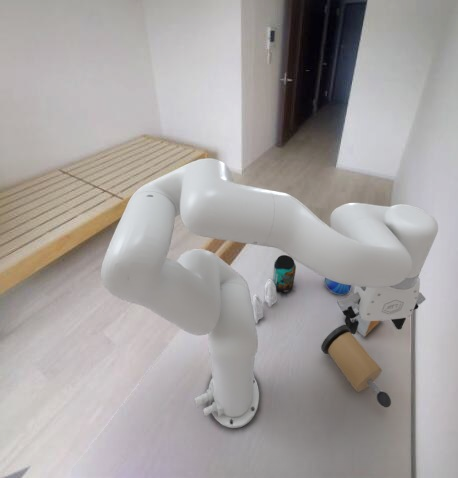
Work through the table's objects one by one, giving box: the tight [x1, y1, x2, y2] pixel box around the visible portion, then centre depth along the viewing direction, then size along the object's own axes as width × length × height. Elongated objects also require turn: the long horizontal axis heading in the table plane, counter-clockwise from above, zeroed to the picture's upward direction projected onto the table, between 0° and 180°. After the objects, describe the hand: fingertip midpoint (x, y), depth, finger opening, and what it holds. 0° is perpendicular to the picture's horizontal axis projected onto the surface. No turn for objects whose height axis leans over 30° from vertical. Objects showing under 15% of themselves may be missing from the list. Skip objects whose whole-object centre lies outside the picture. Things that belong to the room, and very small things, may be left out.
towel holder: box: [320, 324, 392, 408], centre depth 67 cm, size 10×16×10 cm, turn 24°
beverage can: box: [272, 254, 297, 295], centre depth 91 cm, size 7×7×12 cm
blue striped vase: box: [324, 277, 352, 296], centre depth 90 cm, size 8×8×16 cm
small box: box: [353, 307, 381, 338], centre depth 79 cm, size 8×6×13 cm
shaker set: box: [251, 278, 278, 324], centre depth 85 cm, size 12×4×11 cm, turn 134°
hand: (372, 324), depth 57 cm, fingers open, 9 cm apart
